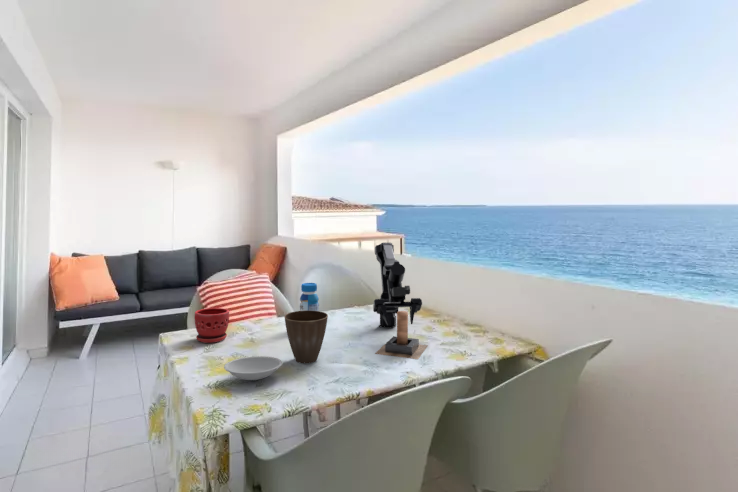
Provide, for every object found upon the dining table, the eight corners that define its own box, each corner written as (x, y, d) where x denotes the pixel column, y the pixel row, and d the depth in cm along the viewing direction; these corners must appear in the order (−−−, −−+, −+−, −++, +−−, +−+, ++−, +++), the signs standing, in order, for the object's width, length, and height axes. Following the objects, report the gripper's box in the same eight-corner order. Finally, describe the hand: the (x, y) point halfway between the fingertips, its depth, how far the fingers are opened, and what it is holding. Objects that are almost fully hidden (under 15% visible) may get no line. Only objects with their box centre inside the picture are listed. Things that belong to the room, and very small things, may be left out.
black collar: (385, 352, 155) (385, 343, 155) (393, 343, 165) (393, 336, 164) (411, 355, 152) (411, 347, 152) (418, 346, 161) (418, 339, 161)
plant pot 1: (218, 345, 165) (217, 315, 164) (188, 343, 168) (187, 313, 167) (235, 335, 178) (235, 307, 177) (207, 334, 181) (206, 306, 180)
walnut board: (374, 356, 154) (374, 353, 154) (388, 343, 169) (388, 340, 169) (417, 362, 148) (417, 359, 148) (428, 347, 163) (428, 345, 163)
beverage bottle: (317, 331, 185) (317, 285, 183) (298, 331, 185) (297, 285, 183) (320, 325, 193) (320, 282, 191) (301, 325, 193) (301, 282, 191)
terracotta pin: (394, 349, 159) (394, 312, 157) (402, 346, 161) (402, 310, 160) (402, 351, 156) (402, 314, 154) (409, 349, 158) (410, 312, 157)
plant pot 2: (329, 352, 158) (329, 310, 156) (326, 367, 143) (326, 320, 141) (288, 353, 157) (288, 310, 156) (281, 368, 142) (281, 321, 141)
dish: (285, 370, 141) (285, 355, 140) (279, 388, 126) (278, 372, 126) (231, 371, 139) (230, 356, 139) (218, 390, 125) (217, 373, 125)
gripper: (374, 278, 165) (377, 314, 155) (421, 277, 167) (428, 312, 157) (371, 294, 173) (374, 328, 163) (416, 293, 175) (422, 327, 165)
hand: (400, 324), depth 162 cm, fingers open, 9 cm apart
